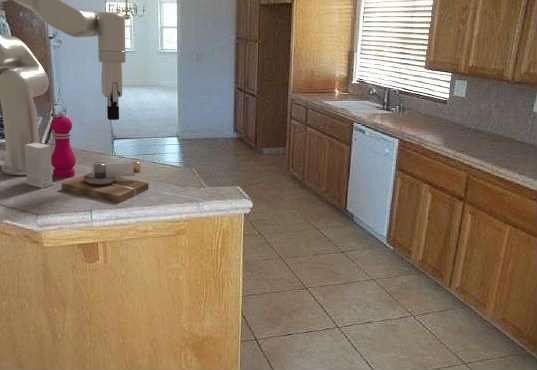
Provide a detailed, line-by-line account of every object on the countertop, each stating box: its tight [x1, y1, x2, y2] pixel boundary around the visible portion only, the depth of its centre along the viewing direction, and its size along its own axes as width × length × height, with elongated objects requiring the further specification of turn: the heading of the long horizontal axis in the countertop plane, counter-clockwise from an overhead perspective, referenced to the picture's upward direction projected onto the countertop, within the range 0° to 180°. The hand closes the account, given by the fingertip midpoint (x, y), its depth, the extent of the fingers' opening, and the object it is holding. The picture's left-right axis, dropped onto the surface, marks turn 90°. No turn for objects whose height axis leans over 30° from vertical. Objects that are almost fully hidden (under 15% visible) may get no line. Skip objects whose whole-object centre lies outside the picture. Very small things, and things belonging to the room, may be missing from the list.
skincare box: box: [24, 142, 53, 189], centre depth 150 cm, size 6×4×12 cm
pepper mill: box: [50, 111, 77, 179], centre depth 159 cm, size 7×7×20 cm
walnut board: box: [61, 171, 150, 204], centre depth 152 cm, size 20×14×2 cm
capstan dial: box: [84, 160, 141, 186], centre depth 153 cm, size 16×9×5 cm, turn 114°
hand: (113, 119), depth 156 cm, fingers closed
